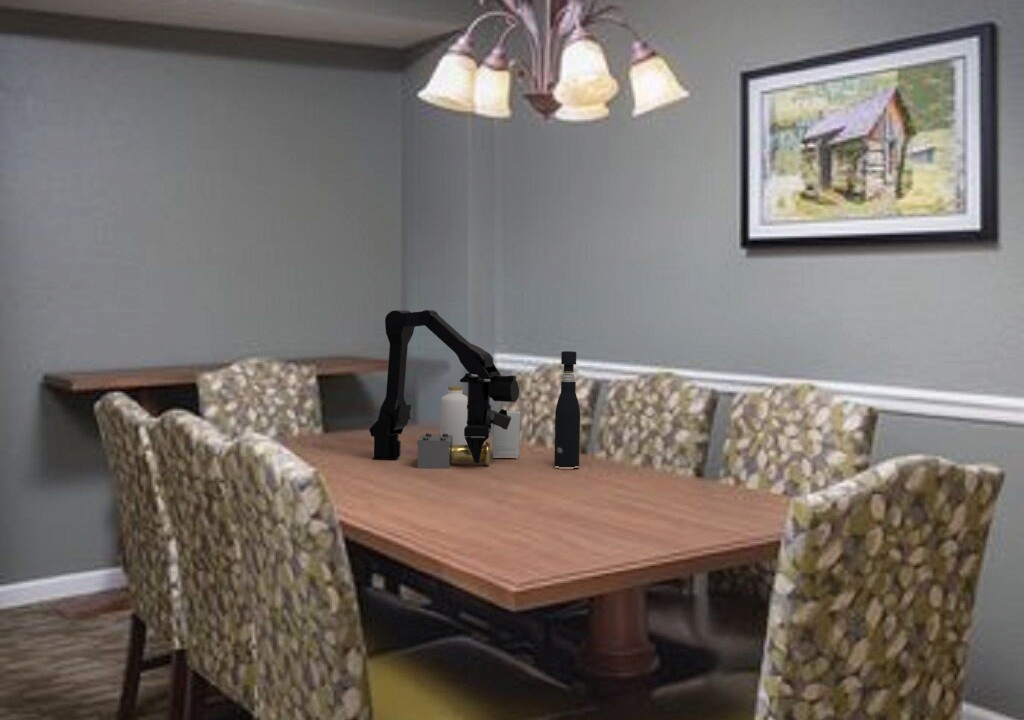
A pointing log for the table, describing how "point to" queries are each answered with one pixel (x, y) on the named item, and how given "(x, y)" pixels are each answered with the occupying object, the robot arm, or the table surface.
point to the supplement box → (507, 437)
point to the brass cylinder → (468, 453)
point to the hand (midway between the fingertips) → (477, 460)
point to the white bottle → (454, 415)
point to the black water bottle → (567, 417)
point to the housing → (434, 451)
